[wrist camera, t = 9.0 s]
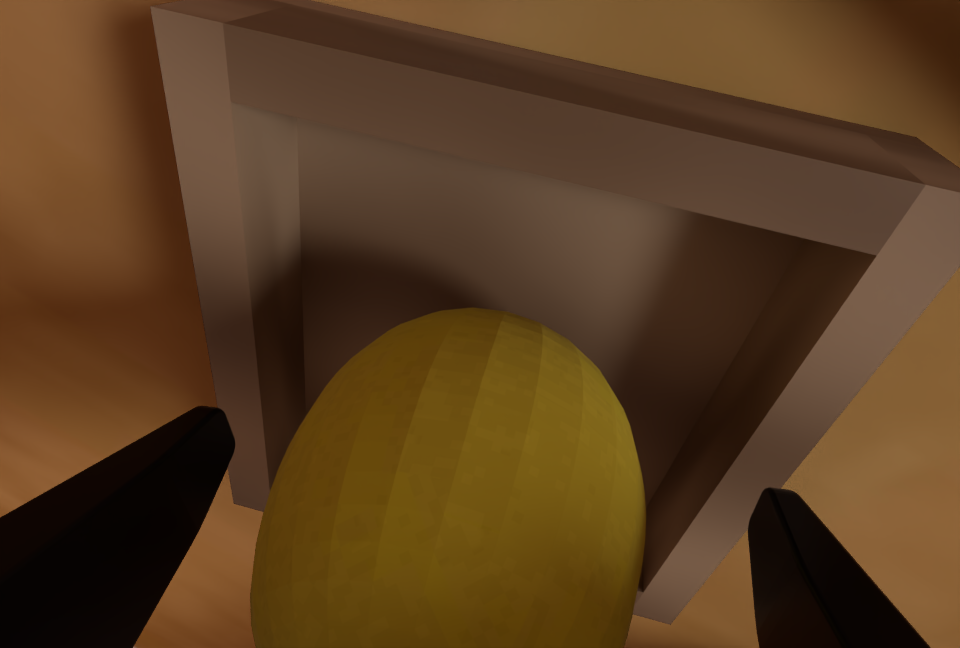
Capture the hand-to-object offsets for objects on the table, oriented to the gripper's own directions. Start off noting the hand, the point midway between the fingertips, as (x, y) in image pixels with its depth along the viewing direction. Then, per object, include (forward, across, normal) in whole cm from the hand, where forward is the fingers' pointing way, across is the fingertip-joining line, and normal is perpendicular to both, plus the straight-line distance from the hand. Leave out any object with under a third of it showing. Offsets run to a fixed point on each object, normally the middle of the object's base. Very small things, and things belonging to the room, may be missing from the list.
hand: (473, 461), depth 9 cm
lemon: (+4, 0, 0) cm, 4 cm away
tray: (+4, 0, 0) cm, 4 cm away
